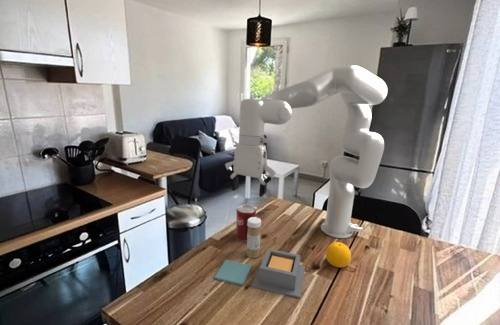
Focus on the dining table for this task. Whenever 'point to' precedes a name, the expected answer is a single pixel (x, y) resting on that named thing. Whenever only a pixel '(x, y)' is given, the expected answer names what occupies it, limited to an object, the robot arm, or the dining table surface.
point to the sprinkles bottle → (253, 237)
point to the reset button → (281, 263)
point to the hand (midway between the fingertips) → (248, 192)
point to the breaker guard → (280, 275)
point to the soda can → (243, 221)
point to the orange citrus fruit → (338, 254)
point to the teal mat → (233, 272)
